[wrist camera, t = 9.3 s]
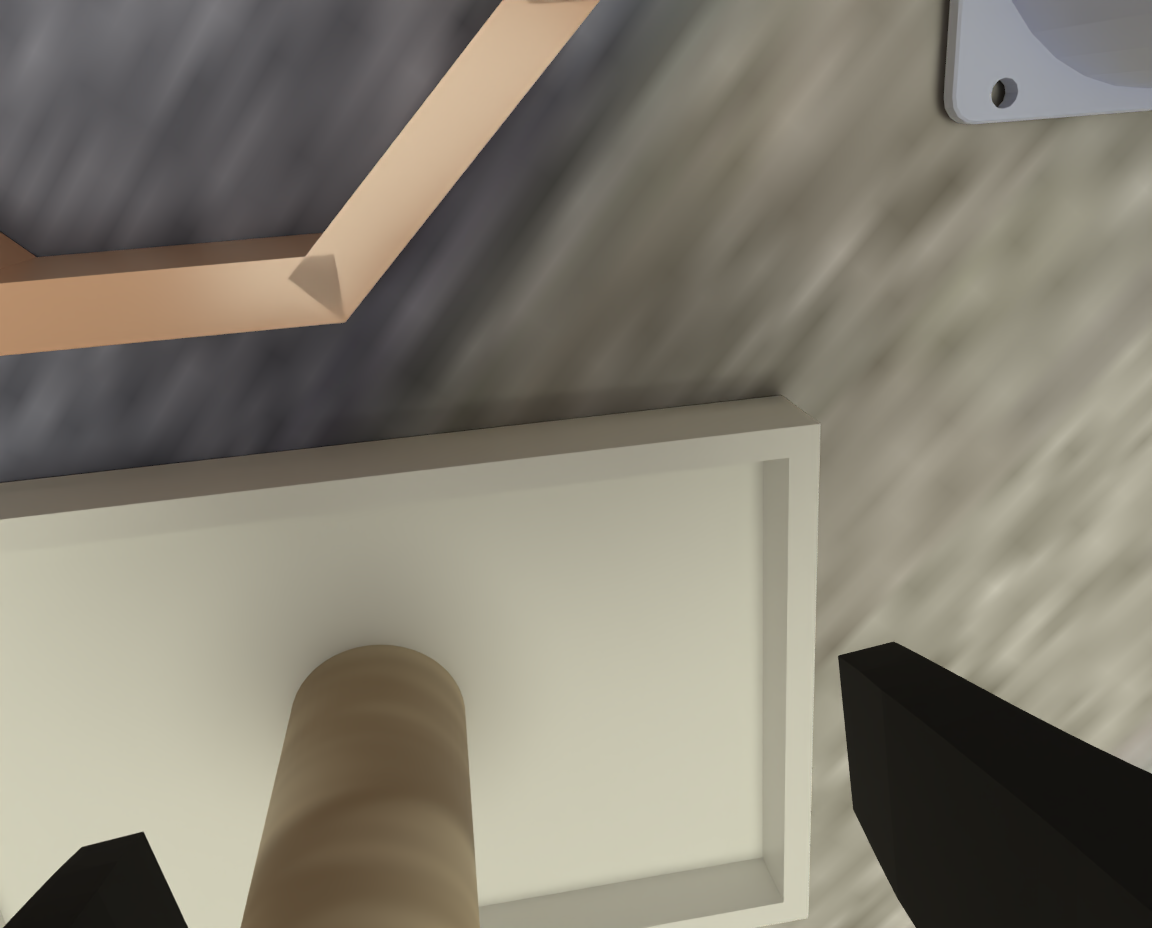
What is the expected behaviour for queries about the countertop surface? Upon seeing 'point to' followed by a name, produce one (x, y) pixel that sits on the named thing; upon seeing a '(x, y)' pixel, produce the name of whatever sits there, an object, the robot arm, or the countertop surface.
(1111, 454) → the countertop surface
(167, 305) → the octagonal open frame
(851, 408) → the countertop surface
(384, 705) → the wooden pin
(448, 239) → the countertop surface
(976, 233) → the countertop surface
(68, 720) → the cream tray
